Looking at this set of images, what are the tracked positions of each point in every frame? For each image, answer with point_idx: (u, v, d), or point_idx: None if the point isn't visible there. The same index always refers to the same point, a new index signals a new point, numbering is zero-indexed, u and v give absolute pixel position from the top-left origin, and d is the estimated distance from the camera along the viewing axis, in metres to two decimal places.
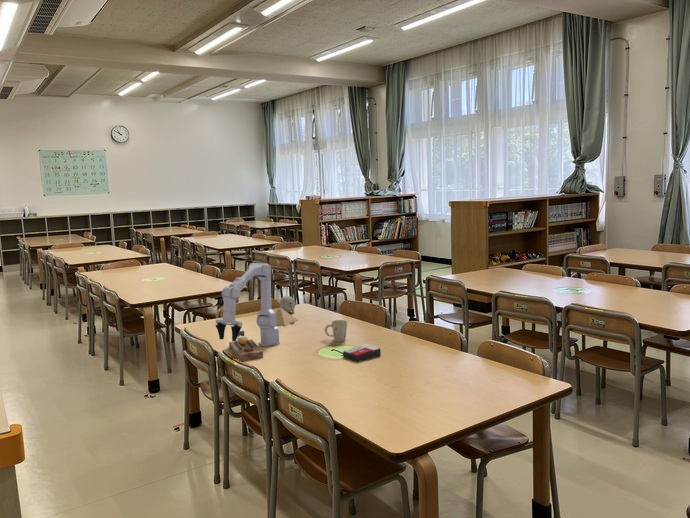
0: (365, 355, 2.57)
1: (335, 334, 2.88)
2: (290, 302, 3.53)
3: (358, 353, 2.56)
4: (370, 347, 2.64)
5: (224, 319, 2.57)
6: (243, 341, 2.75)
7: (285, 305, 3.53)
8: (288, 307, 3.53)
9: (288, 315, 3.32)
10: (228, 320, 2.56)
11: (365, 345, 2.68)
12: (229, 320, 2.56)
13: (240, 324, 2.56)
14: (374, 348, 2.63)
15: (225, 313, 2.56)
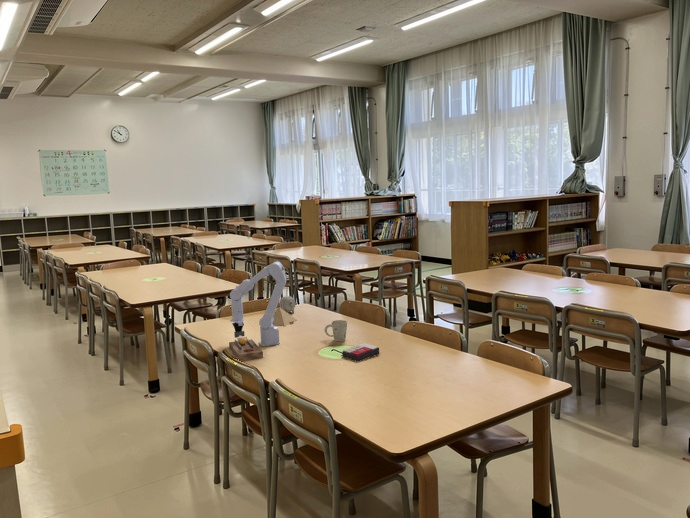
0: (365, 354, 2.58)
1: (335, 334, 2.88)
2: (290, 302, 3.53)
3: (358, 352, 2.58)
4: (369, 346, 2.66)
5: (232, 318, 2.86)
6: (243, 341, 2.75)
7: (285, 305, 3.53)
8: (288, 307, 3.53)
9: (288, 315, 3.33)
10: (233, 319, 2.84)
11: (363, 344, 2.69)
12: (234, 319, 2.84)
13: (240, 324, 2.80)
14: (373, 347, 2.64)
15: (232, 313, 2.85)
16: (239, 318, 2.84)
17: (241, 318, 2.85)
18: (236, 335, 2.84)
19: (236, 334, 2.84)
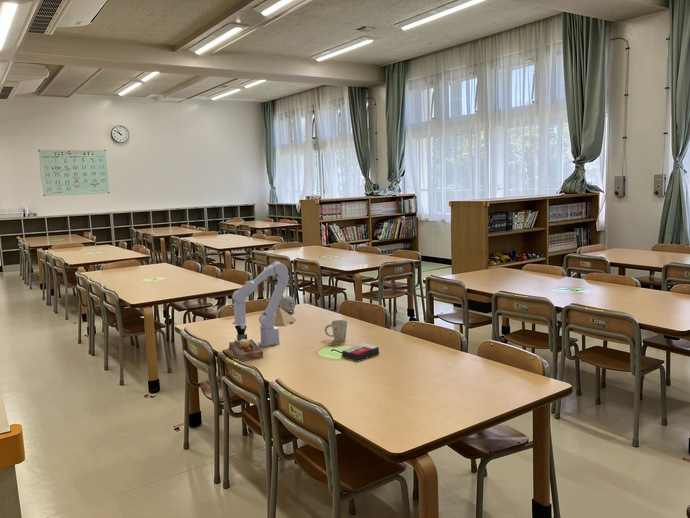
0: (365, 354, 2.59)
1: (335, 334, 2.88)
2: (290, 302, 3.53)
3: (358, 352, 2.58)
4: (368, 346, 2.66)
5: None
6: None
7: (285, 305, 3.53)
8: (288, 307, 3.53)
9: (287, 315, 3.33)
10: (236, 322, 2.78)
11: (362, 344, 2.70)
12: (237, 322, 2.78)
13: (243, 327, 2.74)
14: (372, 347, 2.65)
15: (234, 315, 2.79)
16: (242, 321, 2.78)
17: (244, 321, 2.79)
18: (239, 338, 2.78)
19: (239, 337, 2.78)
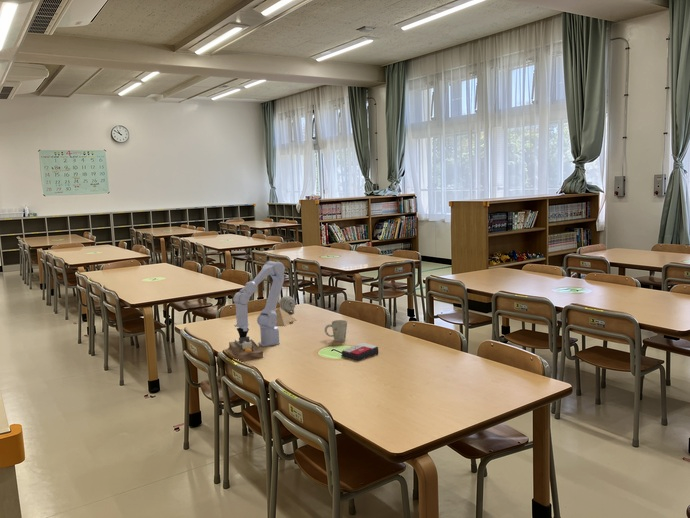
0: (365, 354, 2.59)
1: (335, 334, 2.88)
2: (290, 302, 3.53)
3: (358, 352, 2.58)
4: (368, 346, 2.67)
5: None
6: None
7: (285, 305, 3.53)
8: (288, 307, 3.53)
9: (287, 315, 3.33)
10: (238, 324, 2.73)
11: (362, 344, 2.70)
12: (239, 324, 2.73)
13: (245, 329, 2.69)
14: (372, 346, 2.65)
15: (236, 317, 2.74)
16: (244, 323, 2.73)
17: (246, 323, 2.74)
18: (241, 341, 2.73)
19: (241, 340, 2.73)
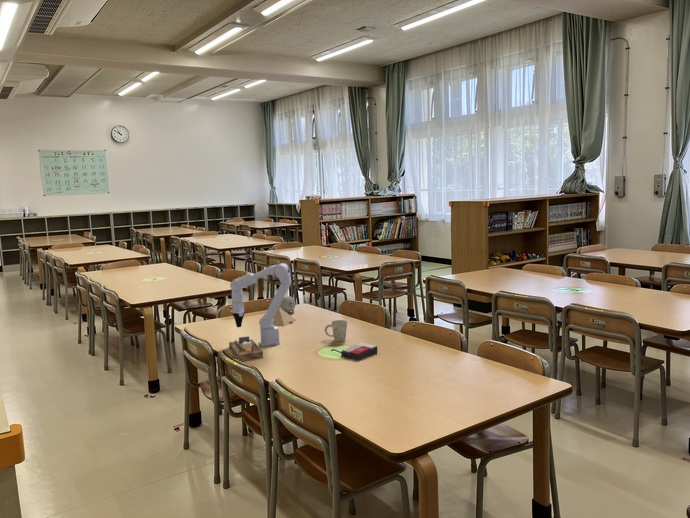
0: (365, 353, 2.60)
1: (335, 334, 2.88)
2: (290, 302, 3.53)
3: (358, 351, 2.59)
4: (367, 345, 2.68)
5: None
6: None
7: (285, 305, 3.53)
8: (288, 307, 3.53)
9: (287, 315, 3.33)
10: (234, 310, 2.84)
11: (361, 343, 2.71)
12: (235, 310, 2.84)
13: (241, 314, 2.80)
14: (371, 346, 2.66)
15: (232, 303, 2.85)
16: (239, 309, 2.84)
17: (241, 309, 2.85)
18: (241, 341, 2.73)
19: (241, 340, 2.73)
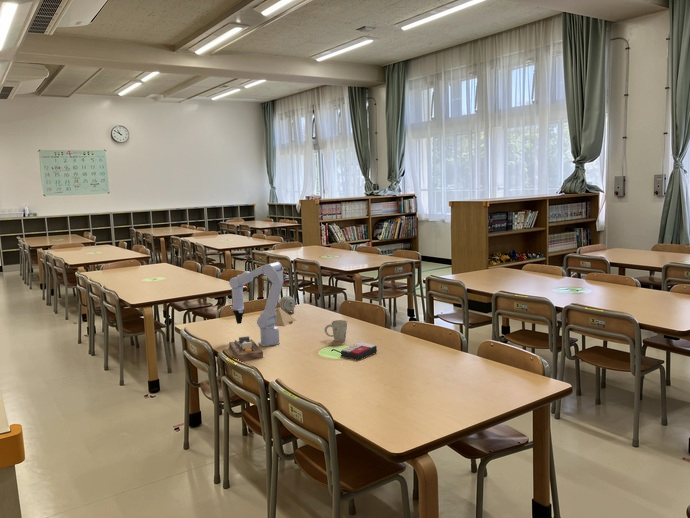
0: (364, 353, 2.60)
1: (335, 334, 2.88)
2: (290, 302, 3.53)
3: (358, 351, 2.59)
4: (366, 345, 2.68)
5: None
6: None
7: (285, 305, 3.53)
8: (288, 307, 3.53)
9: (286, 315, 3.33)
10: (234, 307, 2.91)
11: (360, 343, 2.71)
12: (235, 307, 2.91)
13: (241, 311, 2.87)
14: (370, 345, 2.67)
15: None
16: (239, 306, 2.91)
17: (241, 306, 2.92)
18: (241, 341, 2.73)
19: (241, 340, 2.73)
